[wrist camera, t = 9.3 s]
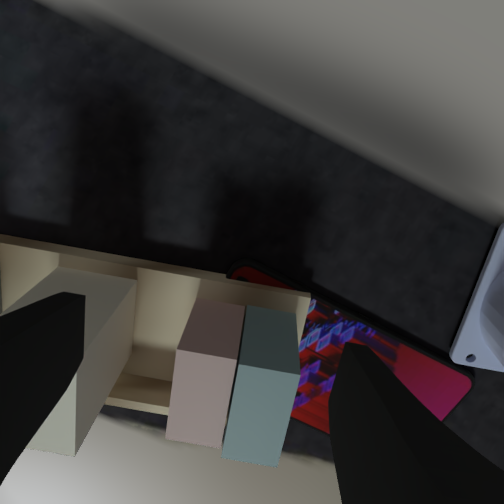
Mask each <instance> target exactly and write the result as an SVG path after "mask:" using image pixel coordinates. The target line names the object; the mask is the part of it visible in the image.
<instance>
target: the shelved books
mask: <svg viewBox="0 0 504 504" xmlns="http://www.w3.org/2000/svg"><path fill="white" fill-rule="evenodd" d="M244 310H245V306H241V305H235V304H229V303H224V302H218V301H213V300H207V299H201V298H196V300H195V303H194V305H193V308H192V310H191V313H190V316H189V318H188V321H187V323H186V326H185V329H184V331H183V334H182V336H181V339H180V341H179V344H178V347H177V349H176V357H175V365H174V373H173V382H172V390H171V398H170V406H169V414H168V422H167V430H166V438H165V439H169V440H175V441H181V442H186V443H192V444H198V445H203V446H209V447H215V448H221V443H222V437H223V432H224V427H225V421H226V416H227V411H228V417H227V423H226V430H225V436H224V443H223V449H222V457H221V458H226V459H232V460H238V461H243V462H249V463H254V464H260V465H266V466H272V467H277V466H278V462H279V458H280V454H281V450H282V446H283V442H284V439H285V435H286V431H287V427H288V423H289V419H290V415H291V411H292V407H293V403H294V399H295V395H296V392H297V388H298V384H299V380H300V376H301V373H300V360H299V346H298V333H297V320H296V314H295V313H290V312H284V311H279V310H273V309H267V308H262V307H256V306H251V305H247V310H246V315H245V320H244V326H243V331H242V336H241V330H242V323H243V317H244ZM240 337H241V342H240ZM239 343H240V347H239ZM238 350H239V352H238ZM237 356H238V358H237ZM236 362H237V363H236ZM234 373H235V374H234ZM233 378H234V379H233ZM231 389H232V391H231ZM230 395H231V397H230ZM229 400H230V404H229ZM228 405H229V410H228Z"/></svg>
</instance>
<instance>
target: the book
mask: <svg viewBox="0 0 504 504" xmlns="http://www.w3.org/2000/svg"><path fill="white" fill-rule="evenodd" d="M136 290H137V280H134V279H128V278H122V277H117V276H111V275H105V274H99V273H94V272H88V271H82V270H77V269H71V268H65V267H60V266H58V267H57V268H56V269H55V270H53V271H52V272H51V273H50V274H49V275H47V276H46V277H45V278H44V279H43V280H41V281H40V282H39V283H38V284H36V285H35V286H34V287H33V288H32V289H30V290H29V291H28V292H27V293H26V294H24V295H23V296H22V297H21V298H19V299H18V300H17V301H16V302H15V303H13V304H12V305H11V306H10V307H9V308H7V309H6V310H5V311H4V312H2V313H1V314H0V316H2V315H5V314H7V313H9V312H12V311H14V310H17V309H19V308H22V307H24V306H27V305H29V304H31V303H34V302H36V301H39V300H41V299H44V298H46V297H49V296H51V295H54V294H57V293H60V292H70V293H75V294H81V295H86V300H85V332H84V358H83V360H82V362H81V364H80V366H79V368H78V370H77V372H76V374H75V376H74V378H73V380H72V381H71V383H70V385H69V387H68V389H67V390H66V392H65V393H64V394H63V396H62V397H61V399H60V400H59V402H58V403H57V404H56V406H55V407H54V409H53V410H52V411H51V413H50V414H49V416H48V417H47V418H46V420H45V421H44V423H43V424H42V425H41V427H40V428H39V429H38V431H37V432H36V434H35V435H34V436H33V438H32V439H31V441H30V442H29V443H28V445H27V446H26V448H27V449H33V450H39V451H45V452H51V453H56V454H62V455H68V456H73V457H75V455H76V453H77V452H78V450H79V448H80V446H81V445H82V443H83V441H84V439H85V437H86V435H87V434H88V432H89V430H90V428H91V426H92V424H93V423H94V421H95V419H96V417H97V415H98V414H99V412H100V410H101V408H102V406H103V404H104V403H105V401H106V399H107V397H108V395H109V393H110V392H111V390H112V388H113V386H114V384H115V383H116V381H117V379H118V377H119V375H120V373H121V372H122V370H123V368H124V366H125V364H126V363H127V361H128V359H129V357H130V355H131V353H132V342H133V329H134V316H135V303H136Z"/></svg>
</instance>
